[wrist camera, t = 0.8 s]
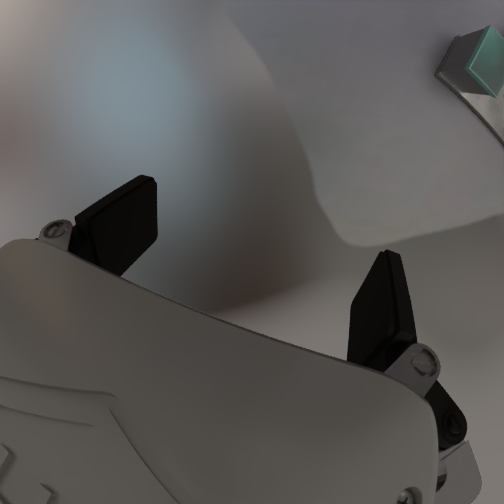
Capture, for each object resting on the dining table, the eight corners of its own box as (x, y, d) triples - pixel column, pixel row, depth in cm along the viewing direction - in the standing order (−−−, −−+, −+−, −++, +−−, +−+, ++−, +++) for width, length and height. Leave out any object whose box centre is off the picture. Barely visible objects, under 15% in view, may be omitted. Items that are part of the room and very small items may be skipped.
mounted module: (459, 35, 17) (490, 25, 10) (483, 57, 17) (518, 54, 10) (439, 72, 21) (468, 68, 14) (463, 93, 21) (497, 98, 14)
